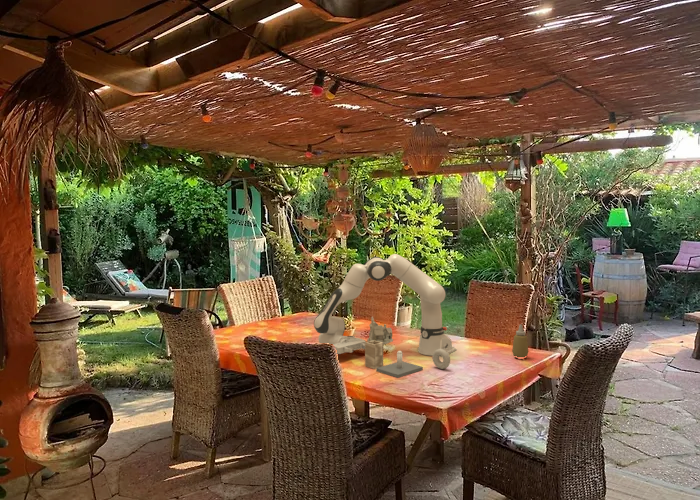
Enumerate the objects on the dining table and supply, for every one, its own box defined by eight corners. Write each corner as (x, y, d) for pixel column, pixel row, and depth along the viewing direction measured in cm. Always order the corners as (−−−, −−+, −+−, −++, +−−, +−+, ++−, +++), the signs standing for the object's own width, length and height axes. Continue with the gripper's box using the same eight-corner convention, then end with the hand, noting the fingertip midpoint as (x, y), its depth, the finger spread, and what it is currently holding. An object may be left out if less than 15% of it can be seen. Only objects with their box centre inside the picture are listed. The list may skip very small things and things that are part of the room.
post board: (401, 363, 261) (401, 344, 260) (422, 369, 250) (422, 350, 250) (376, 371, 249) (376, 351, 248) (397, 377, 238) (397, 357, 238)
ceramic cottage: (368, 345, 297) (370, 319, 297) (366, 339, 314) (367, 314, 313) (395, 346, 298) (396, 320, 298) (391, 340, 315) (393, 316, 314)
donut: (430, 367, 255) (431, 347, 254) (435, 365, 257) (435, 346, 256) (447, 371, 247) (447, 351, 246) (451, 370, 250) (451, 350, 249)
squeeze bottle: (527, 356, 272) (528, 323, 271) (528, 361, 265) (529, 326, 263) (511, 355, 275) (512, 322, 273) (512, 359, 267) (513, 325, 266)
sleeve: (374, 363, 261) (374, 340, 260) (383, 366, 256) (383, 342, 256) (365, 366, 257) (365, 342, 256) (374, 368, 252) (374, 344, 251)
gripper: (326, 341, 267) (344, 346, 257) (355, 335, 281) (373, 339, 271) (326, 353, 268) (344, 359, 258) (355, 346, 282) (373, 351, 271)
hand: (359, 349), depth 264 cm, fingers open, 8 cm apart
